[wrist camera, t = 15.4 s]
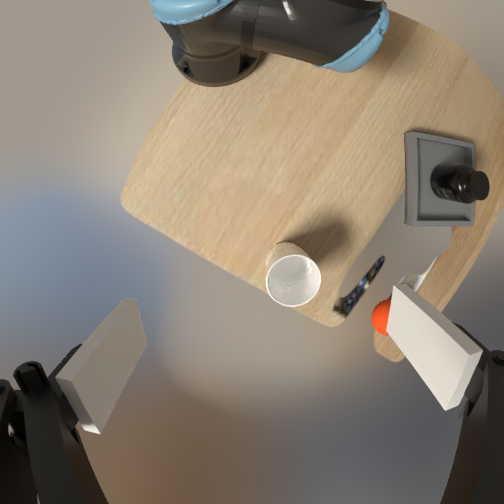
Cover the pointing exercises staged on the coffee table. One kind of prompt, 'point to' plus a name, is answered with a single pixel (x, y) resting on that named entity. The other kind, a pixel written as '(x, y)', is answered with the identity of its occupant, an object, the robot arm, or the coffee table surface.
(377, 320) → the clementine
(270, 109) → the coffee table surface
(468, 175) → the supplement bottle
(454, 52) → the coffee table surface
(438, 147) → the tray
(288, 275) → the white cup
